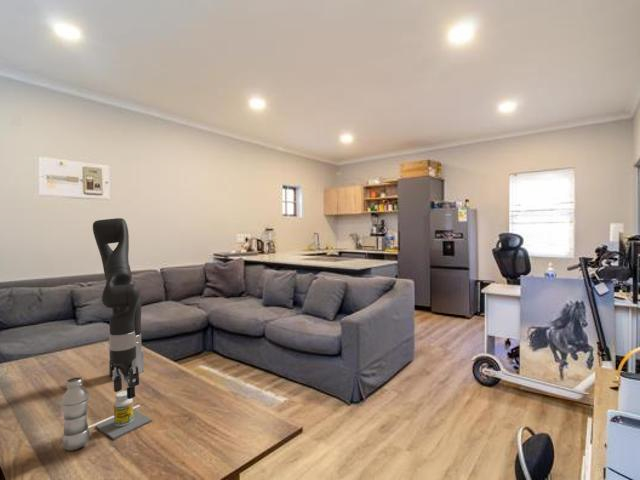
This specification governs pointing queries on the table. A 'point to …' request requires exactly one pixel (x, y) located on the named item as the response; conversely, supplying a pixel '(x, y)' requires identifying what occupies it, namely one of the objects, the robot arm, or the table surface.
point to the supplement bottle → (123, 409)
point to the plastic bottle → (75, 415)
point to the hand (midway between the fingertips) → (124, 394)
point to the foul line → (108, 419)
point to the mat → (118, 431)
